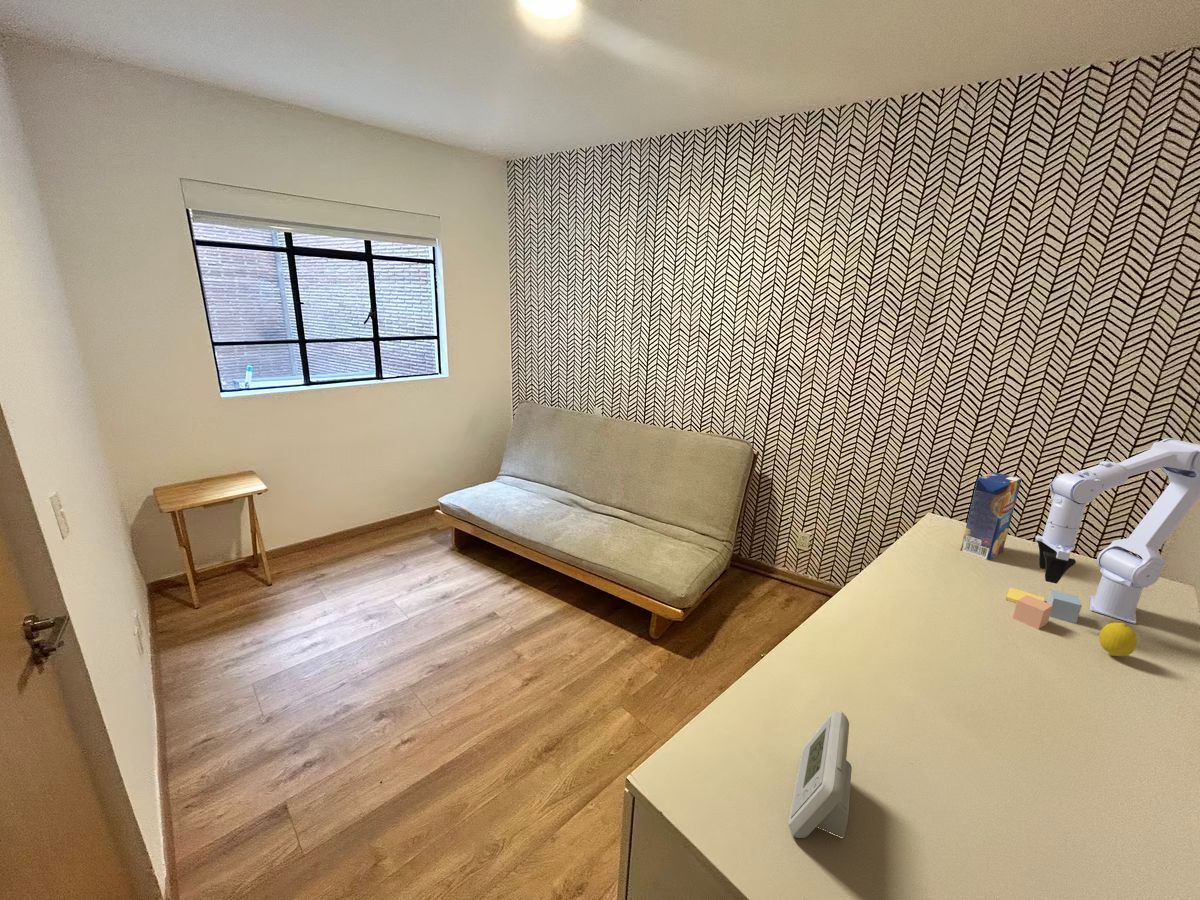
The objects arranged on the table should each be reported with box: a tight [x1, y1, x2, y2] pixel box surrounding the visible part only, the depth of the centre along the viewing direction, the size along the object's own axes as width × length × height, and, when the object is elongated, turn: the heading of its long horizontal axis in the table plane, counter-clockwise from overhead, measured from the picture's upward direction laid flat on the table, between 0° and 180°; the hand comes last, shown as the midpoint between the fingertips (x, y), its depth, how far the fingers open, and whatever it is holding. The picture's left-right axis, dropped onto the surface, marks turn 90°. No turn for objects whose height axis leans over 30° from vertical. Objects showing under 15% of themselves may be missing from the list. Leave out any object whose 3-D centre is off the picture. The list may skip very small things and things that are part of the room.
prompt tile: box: [1005, 586, 1045, 604], centre depth 127 cm, size 7×7×1 cm
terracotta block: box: [1012, 595, 1053, 630], centre depth 118 cm, size 5×5×5 cm
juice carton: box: [960, 471, 1023, 561], centre depth 152 cm, size 12×8×24 cm, turn 125°
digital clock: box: [787, 710, 853, 839], centre depth 71 cm, size 16×9×11 cm, turn 139°
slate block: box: [1046, 589, 1083, 624], centre depth 121 cm, size 5×5×5 cm
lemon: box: [1098, 622, 1138, 657], centre depth 106 cm, size 6×6×8 cm
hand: (1047, 575), depth 121 cm, fingers open, 7 cm apart
